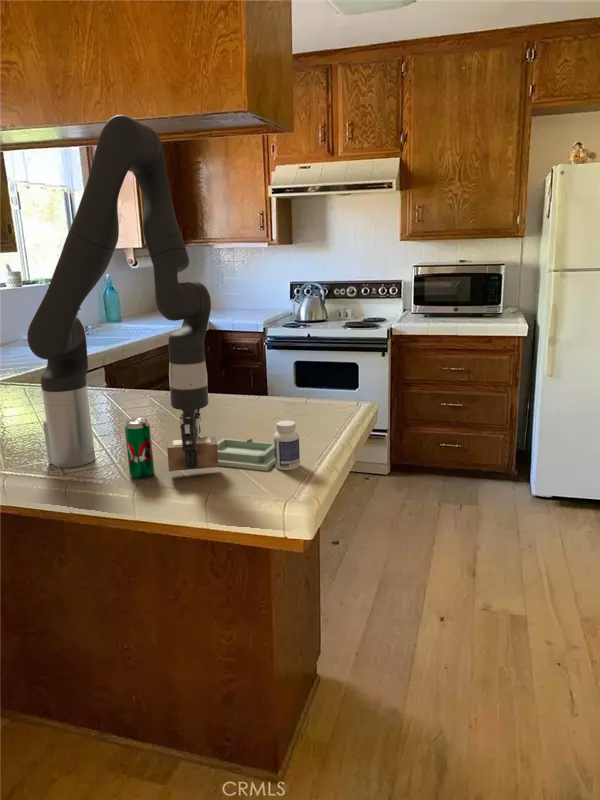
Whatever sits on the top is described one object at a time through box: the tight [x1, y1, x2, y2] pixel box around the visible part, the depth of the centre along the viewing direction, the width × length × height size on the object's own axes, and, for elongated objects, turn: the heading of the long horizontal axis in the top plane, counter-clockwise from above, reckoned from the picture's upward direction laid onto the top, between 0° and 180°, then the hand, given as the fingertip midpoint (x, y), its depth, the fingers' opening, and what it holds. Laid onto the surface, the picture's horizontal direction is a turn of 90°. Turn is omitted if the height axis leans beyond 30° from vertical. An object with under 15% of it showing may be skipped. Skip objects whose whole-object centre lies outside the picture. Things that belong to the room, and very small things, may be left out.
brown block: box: [166, 436, 219, 472], centre depth 128 cm, size 10×5×5 cm, turn 103°
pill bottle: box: [273, 420, 301, 471], centre depth 131 cm, size 5×5×10 cm
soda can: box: [124, 417, 155, 480], centre depth 128 cm, size 5×5×12 cm
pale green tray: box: [217, 437, 275, 472], centre depth 138 cm, size 17×11×3 cm, turn 70°
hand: (193, 462), depth 128 cm, fingers closed on brown block, 5 cm apart
